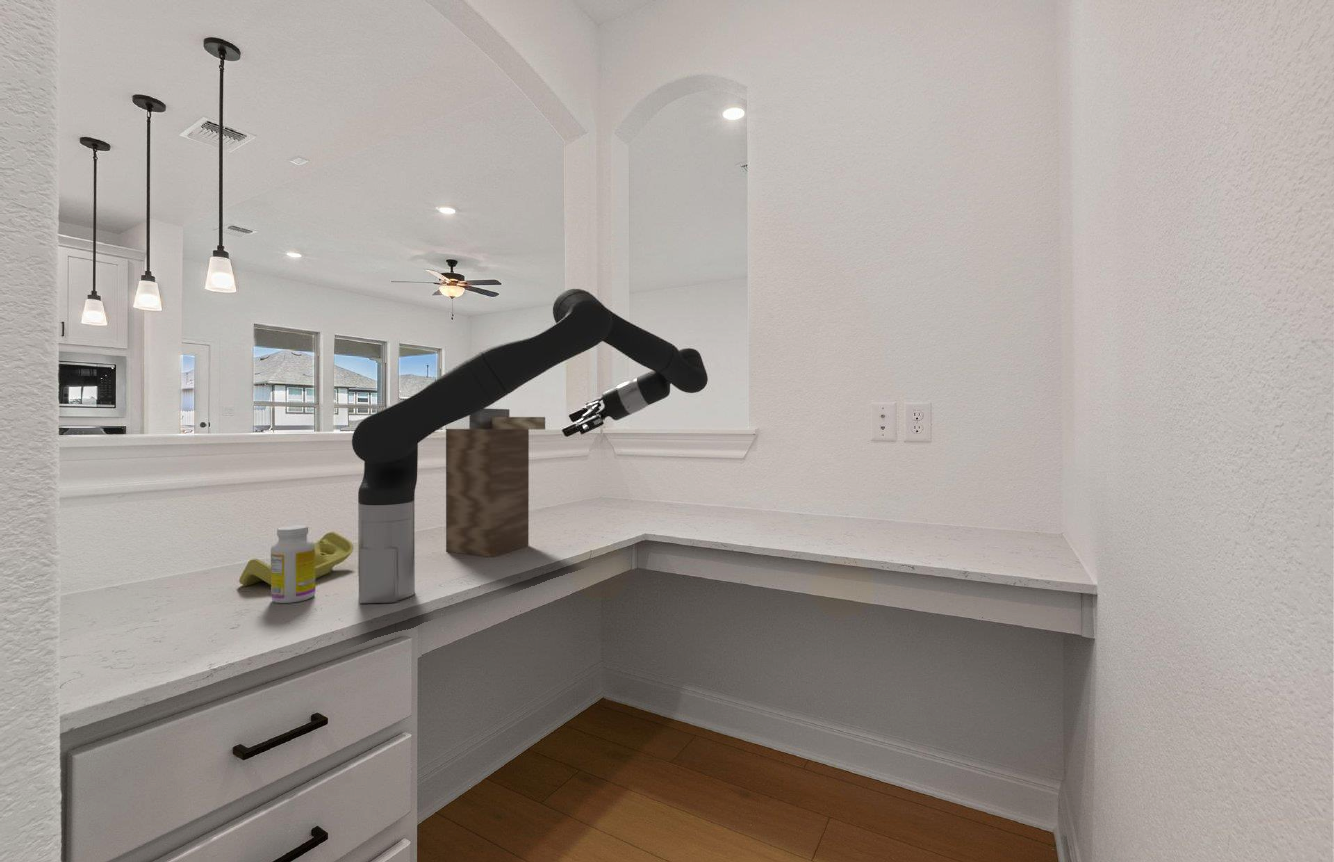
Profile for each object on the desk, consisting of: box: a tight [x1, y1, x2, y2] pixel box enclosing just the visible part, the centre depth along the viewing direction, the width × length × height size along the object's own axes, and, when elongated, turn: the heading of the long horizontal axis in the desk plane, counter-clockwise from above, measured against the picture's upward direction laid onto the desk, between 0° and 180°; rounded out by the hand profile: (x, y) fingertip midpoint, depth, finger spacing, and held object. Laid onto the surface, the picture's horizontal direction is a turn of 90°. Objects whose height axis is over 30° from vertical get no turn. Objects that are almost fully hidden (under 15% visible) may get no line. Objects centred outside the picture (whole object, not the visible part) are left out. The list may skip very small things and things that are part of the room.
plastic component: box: [238, 531, 355, 587], centre depth 118 cm, size 20×7×10 cm
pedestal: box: [445, 428, 530, 558], centre depth 144 cm, size 14×14×30 cm
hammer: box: [468, 408, 546, 431], centre depth 140 cm, size 18×10×5 cm, turn 67°
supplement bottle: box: [270, 524, 316, 604], centre depth 103 cm, size 7×7×13 cm
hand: (567, 425), depth 139 cm, fingers open, 8 cm apart
